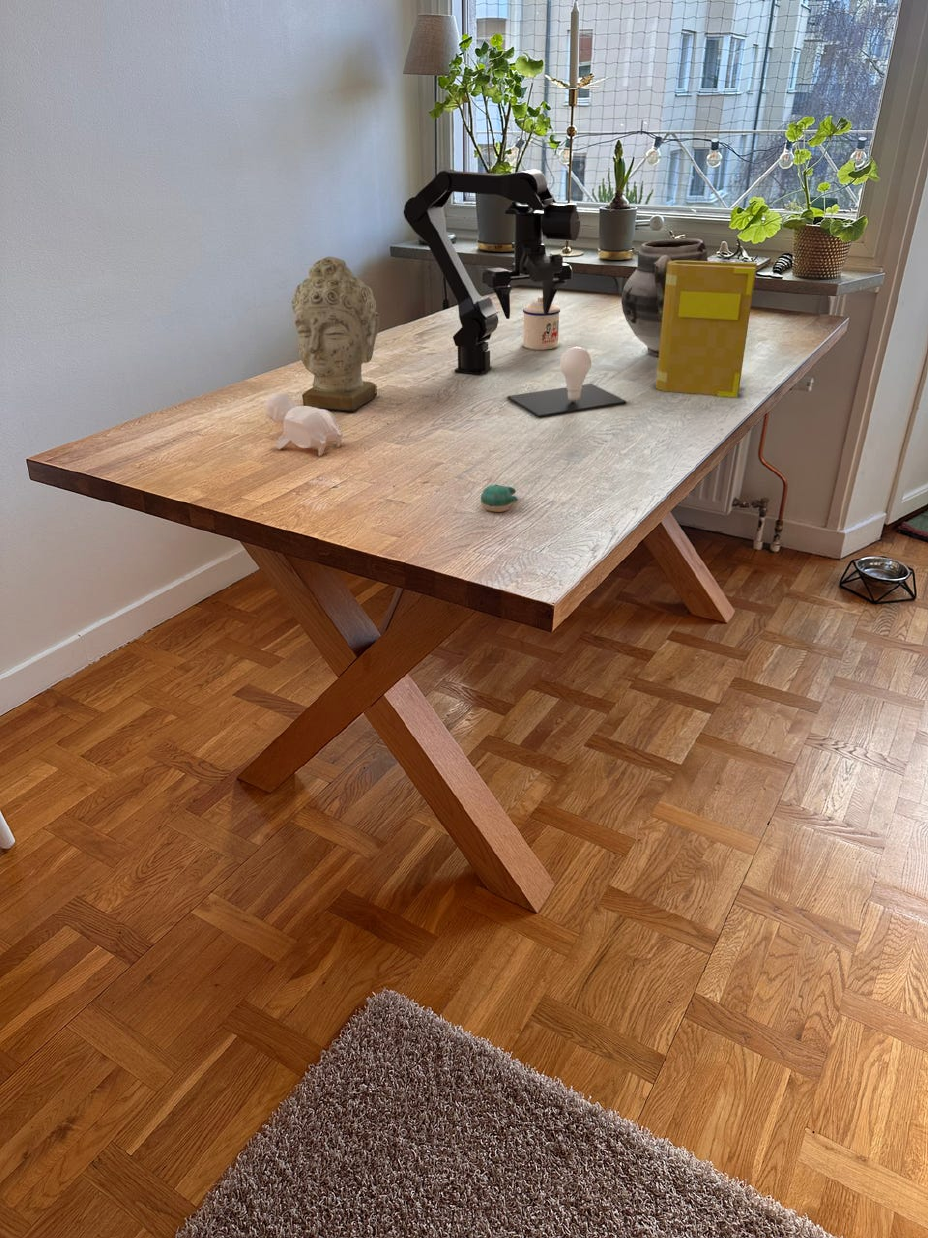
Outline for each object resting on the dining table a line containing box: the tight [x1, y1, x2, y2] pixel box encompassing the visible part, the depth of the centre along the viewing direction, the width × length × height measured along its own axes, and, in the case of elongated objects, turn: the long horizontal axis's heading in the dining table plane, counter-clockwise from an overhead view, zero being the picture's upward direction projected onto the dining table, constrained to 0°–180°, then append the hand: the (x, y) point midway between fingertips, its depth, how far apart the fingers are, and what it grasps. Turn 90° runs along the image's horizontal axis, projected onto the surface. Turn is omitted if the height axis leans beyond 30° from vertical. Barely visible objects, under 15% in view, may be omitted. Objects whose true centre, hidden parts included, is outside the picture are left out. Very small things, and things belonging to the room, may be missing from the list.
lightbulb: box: [559, 346, 592, 402], centre depth 178 cm, size 6×6×11 cm
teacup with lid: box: [522, 295, 561, 351], centre depth 220 cm, size 12×9×12 cm
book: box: [655, 260, 758, 398], centre depth 182 cm, size 17×7×25 cm, turn 71°
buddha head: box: [291, 256, 380, 413], centre depth 179 cm, size 17×19×28 cm
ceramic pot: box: [620, 237, 709, 357], centre depth 208 cm, size 29×23×25 cm
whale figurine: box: [480, 484, 518, 513], centre depth 138 cm, size 6×7×4 cm
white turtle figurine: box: [264, 392, 344, 457], centre depth 162 cm, size 9×8×15 cm
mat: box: [507, 383, 627, 418], centre depth 183 cm, size 14×20×1 cm
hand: (526, 316), depth 193 cm, fingers open, 9 cm apart
